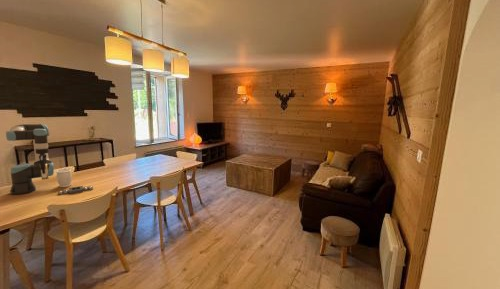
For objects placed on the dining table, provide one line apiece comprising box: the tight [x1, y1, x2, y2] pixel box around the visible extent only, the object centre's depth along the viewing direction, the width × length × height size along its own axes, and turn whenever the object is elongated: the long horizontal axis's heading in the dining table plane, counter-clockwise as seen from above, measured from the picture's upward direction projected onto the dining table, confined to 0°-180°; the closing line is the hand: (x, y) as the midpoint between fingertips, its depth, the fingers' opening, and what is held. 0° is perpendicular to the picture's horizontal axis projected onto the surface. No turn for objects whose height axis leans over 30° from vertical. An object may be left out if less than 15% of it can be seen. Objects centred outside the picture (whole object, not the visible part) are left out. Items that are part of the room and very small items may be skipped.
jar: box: [56, 168, 73, 188], centre depth 198 cm, size 11×10×15 cm
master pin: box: [40, 164, 49, 181], centre depth 174 cm, size 5×5×12 cm
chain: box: [57, 185, 94, 195], centre depth 189 cm, size 10×24×3 cm, turn 129°
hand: (44, 176), depth 174 cm, fingers closed on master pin, 4 cm apart
